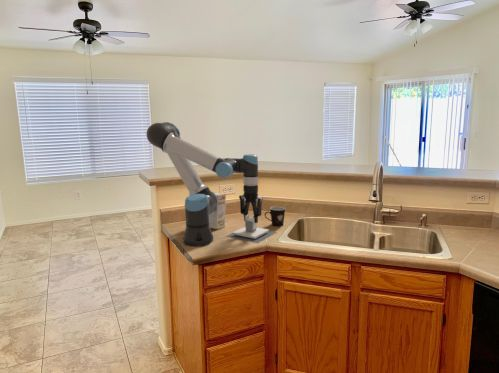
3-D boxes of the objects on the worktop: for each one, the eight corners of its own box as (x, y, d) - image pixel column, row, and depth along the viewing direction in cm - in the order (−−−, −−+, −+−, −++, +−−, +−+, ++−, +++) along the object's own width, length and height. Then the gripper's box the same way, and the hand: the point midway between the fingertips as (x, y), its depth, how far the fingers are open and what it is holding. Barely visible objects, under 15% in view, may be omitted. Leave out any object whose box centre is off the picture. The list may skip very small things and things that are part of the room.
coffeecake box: (225, 227, 208) (226, 193, 206) (216, 229, 203) (217, 195, 200) (207, 223, 217) (207, 190, 215) (198, 225, 212) (198, 191, 210)
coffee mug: (285, 223, 215) (285, 206, 213) (285, 227, 207) (285, 210, 205) (265, 222, 216) (265, 206, 214) (264, 227, 208) (264, 210, 206)
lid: (232, 234, 192) (232, 221, 191) (247, 227, 204) (247, 215, 202) (255, 238, 185) (255, 225, 183) (269, 231, 196) (269, 218, 195)
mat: (225, 237, 191) (225, 236, 191) (246, 227, 208) (246, 226, 208) (257, 243, 181) (257, 243, 181) (277, 232, 197) (277, 232, 197)
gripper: (268, 184, 188) (268, 228, 192) (241, 181, 197) (241, 223, 201) (261, 187, 182) (261, 232, 186) (233, 184, 191) (233, 227, 195)
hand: (250, 227), depth 194 cm, fingers closed on lid, 4 cm apart
